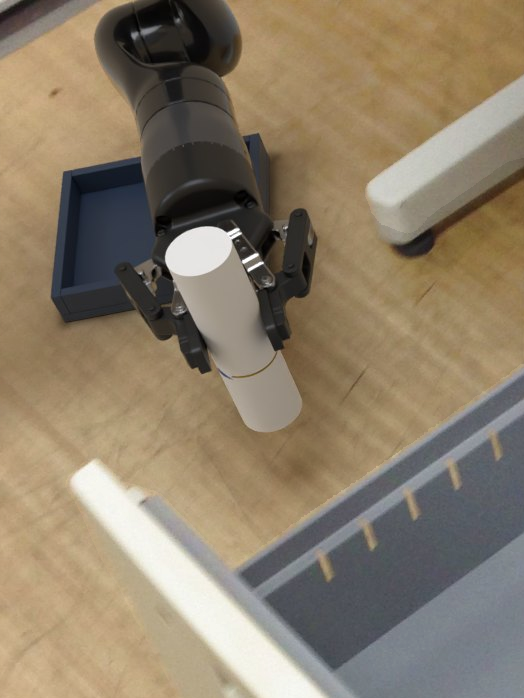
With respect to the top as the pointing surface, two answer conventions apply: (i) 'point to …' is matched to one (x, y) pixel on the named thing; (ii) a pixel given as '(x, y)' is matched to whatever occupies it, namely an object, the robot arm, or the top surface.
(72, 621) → the top surface
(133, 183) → the tray
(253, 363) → the tube
